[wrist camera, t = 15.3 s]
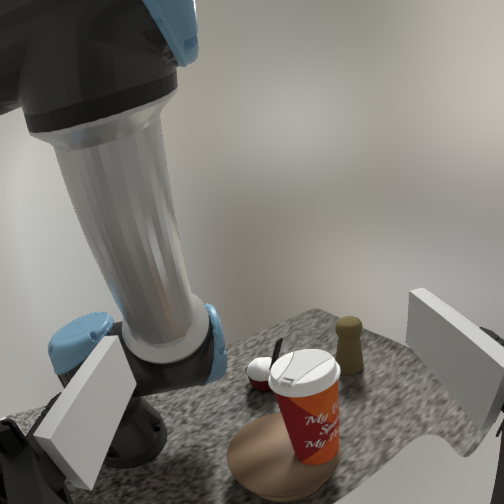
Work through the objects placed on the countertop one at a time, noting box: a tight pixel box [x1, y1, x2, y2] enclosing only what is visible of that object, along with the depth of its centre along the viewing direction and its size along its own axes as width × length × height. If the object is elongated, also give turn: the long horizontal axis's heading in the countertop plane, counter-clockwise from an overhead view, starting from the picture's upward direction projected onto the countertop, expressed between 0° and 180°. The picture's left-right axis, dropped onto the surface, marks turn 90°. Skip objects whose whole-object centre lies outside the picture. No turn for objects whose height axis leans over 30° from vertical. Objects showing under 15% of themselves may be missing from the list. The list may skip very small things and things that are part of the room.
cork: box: [335, 316, 363, 375], centre depth 55 cm, size 6×6×11 cm
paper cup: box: [268, 349, 340, 465], centre depth 31 cm, size 8×8×14 cm
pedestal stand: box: [227, 413, 341, 503], centre depth 34 cm, size 15×15×6 cm
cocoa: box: [246, 338, 283, 391], centre depth 54 cm, size 10×6×12 cm, turn 28°
